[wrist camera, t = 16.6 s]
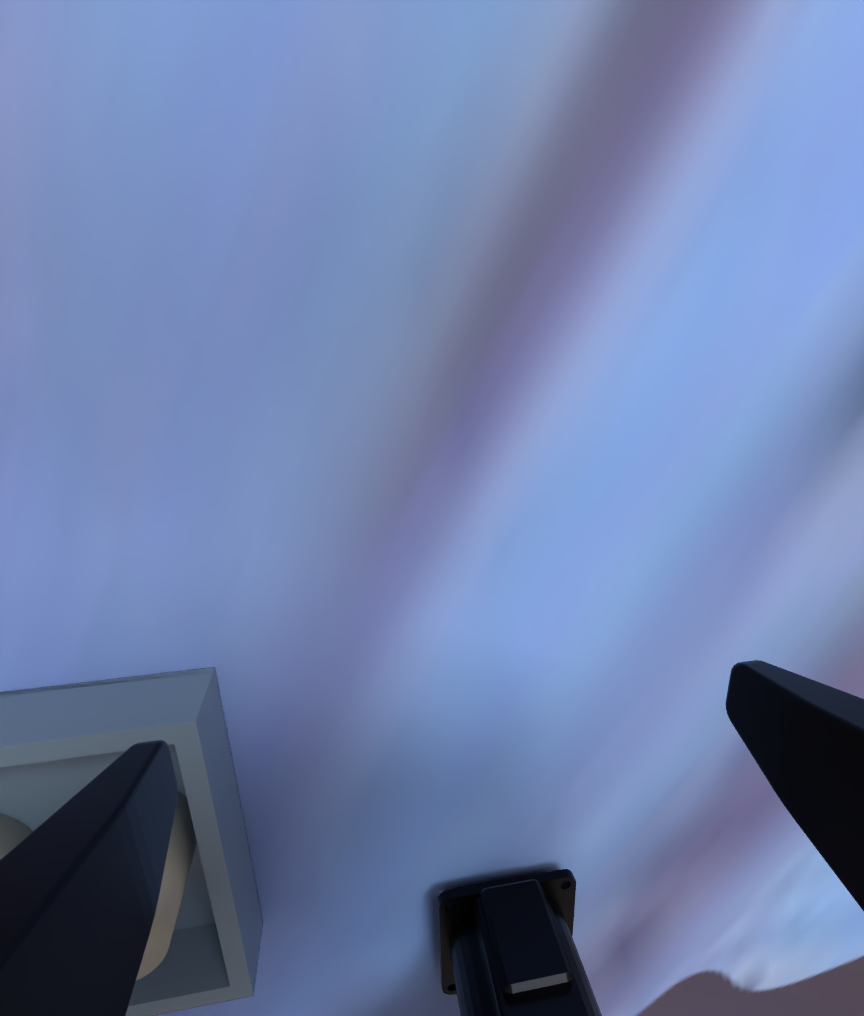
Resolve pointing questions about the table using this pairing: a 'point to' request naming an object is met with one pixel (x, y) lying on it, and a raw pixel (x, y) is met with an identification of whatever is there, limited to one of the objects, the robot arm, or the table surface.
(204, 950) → the dish
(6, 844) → the pebble
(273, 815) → the table surface
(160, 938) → the pebble
